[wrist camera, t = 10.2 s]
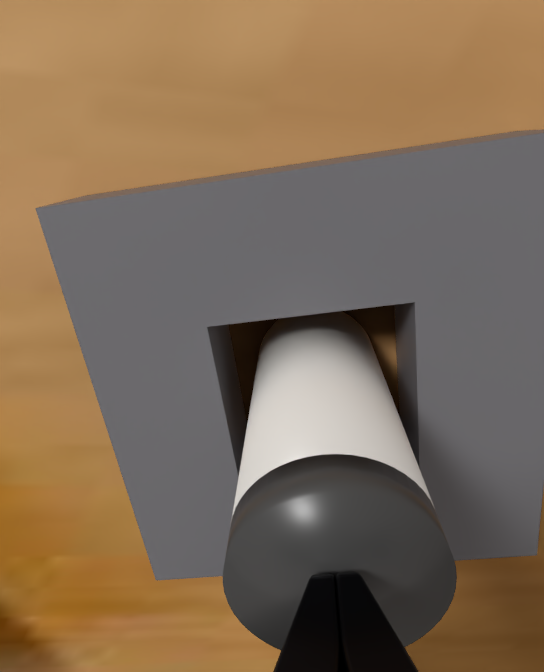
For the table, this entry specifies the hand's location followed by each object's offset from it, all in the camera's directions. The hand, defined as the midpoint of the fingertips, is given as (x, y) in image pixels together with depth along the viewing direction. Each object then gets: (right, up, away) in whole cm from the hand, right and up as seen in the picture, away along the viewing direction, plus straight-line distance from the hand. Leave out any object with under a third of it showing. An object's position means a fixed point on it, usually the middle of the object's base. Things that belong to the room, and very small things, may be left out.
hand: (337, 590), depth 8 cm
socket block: (0, +4, +8) cm, 9 cm away
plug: (0, +4, +8) cm, 9 cm away
